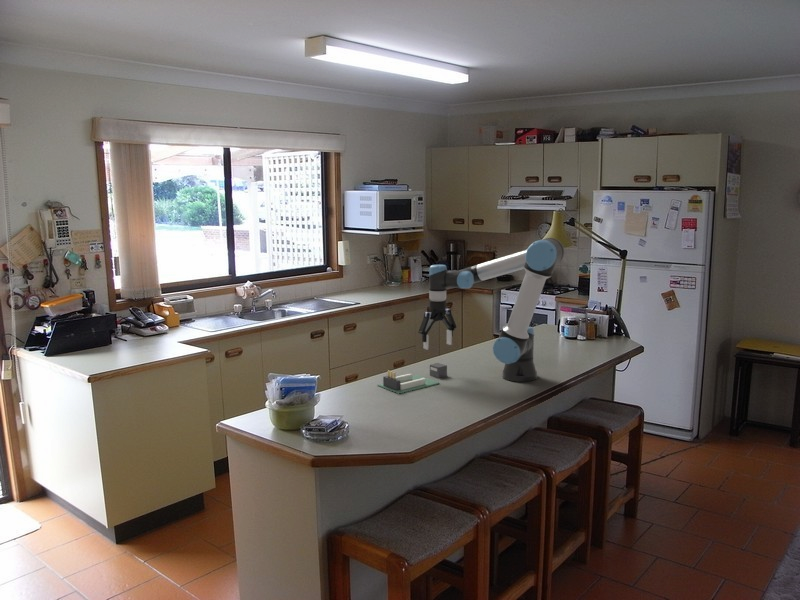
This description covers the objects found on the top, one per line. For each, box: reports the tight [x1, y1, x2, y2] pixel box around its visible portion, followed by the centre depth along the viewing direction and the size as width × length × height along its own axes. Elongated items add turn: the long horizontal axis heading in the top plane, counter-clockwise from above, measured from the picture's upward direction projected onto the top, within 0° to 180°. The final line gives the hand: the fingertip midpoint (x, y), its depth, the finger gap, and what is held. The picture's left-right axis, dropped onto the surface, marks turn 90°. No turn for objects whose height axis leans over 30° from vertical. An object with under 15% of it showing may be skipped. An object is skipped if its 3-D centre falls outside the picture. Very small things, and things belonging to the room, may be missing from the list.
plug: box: [429, 362, 448, 379], centre depth 300 cm, size 6×5×5 cm
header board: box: [377, 369, 440, 394], centre depth 287 cm, size 15×22×8 cm
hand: (437, 346), depth 299 cm, fingers open, 13 cm apart
